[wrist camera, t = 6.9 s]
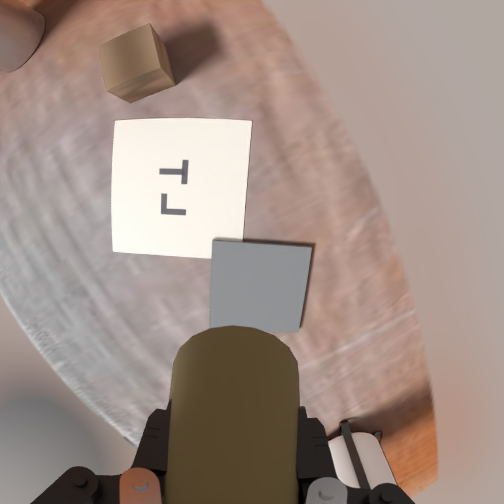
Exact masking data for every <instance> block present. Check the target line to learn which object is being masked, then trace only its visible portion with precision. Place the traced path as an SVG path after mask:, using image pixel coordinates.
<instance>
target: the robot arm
mask: <svg viewBox="0 0 504 504" xmlns="http://www.w3.org/2000/svg"><path fill="white" fill-rule="evenodd" d="M44 29H45V19H44V17H43V16H42V15H41V14H39V13H38V12H36V11H35V10H33V9H31V8H30V7H28V6H26V5H25V4H23V3H21V2H20V1H18V0H0V71H3V72H12V71H14V70H16V69H17V68H19V67H20V66H21V65H23V64H24V63H25V62H26V61H27V60H28V59H29V57H30V56H31V55H32V54H33V52H34V51H35V49H36V48H37V46H38V44H39V42H40V40H41V38H42V36H43V33H44ZM171 404H172V399H170V400H169V403H168V406H167V409H166V410H162V409H156V410H155V411H154V412H153V413H152V414H151V415H150V416H149V417H148V420H147V423H146V426H145V429H144V432H143V436H142V438H141V441H140V444H139V447H138V450H137V453H136V456H135V459H134V462H133V465H132V466H131V468H130V469H128V470H127V471H125V472H124V473H123V474H120V475H113V476H108V475H106V476H105V475H95V474H94V473H93V472H92V471H91V470H90V469H88V468H85V467H80V466H77V467H72V468H70V469H68V470H67V471H66V472H65V473H64V474H62V475H61V477H59V479H57V480H56V481H55V482H54V483H53V484H52V485H51V486H49V487H48V488H47V489H46V490H45V491H44V492H43V493H42V494H41V495H40V496H38V497H37V498H36V499H35V500H34V501H33V502H32V503H31V504H163V488H164V475H165V474H166V472H167V466H168V446H169V430H170V417H171ZM326 437H327V436H326V432H325V429H324V426H323V425H322V424H321V422H320V421H319V420H318V419H317V418H307V414H306V409H305V407H304V406H298V423H297V451H296V467H297V480H298V484H299V504H415V503H414V502H413V501H412V500H411V499H410V498H409V496H408V495H407V494H406V493H405V492H404V491H403V490H402V489H401V488H400V487H399V486H397V485H395V484H392V483H382V484H379V485H377V486H375V487H374V488H373V489H363V488H353V487H350V486H347V485H345V484H344V483H342V482H341V481H340V479H339V478H338V476H337V474H336V470H335V466H334V462H333V459H332V455H331V451H330V447H329V444H328V440H327V438H326Z"/></svg>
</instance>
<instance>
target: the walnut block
mask: <svg viewBox="0 0 504 504" xmlns="http://www.w3.org/2000/svg"><path fill="white" fill-rule="evenodd" d="M98 49H99V55H100V61H101V66H102V72H103V77H104V82H105V87H106V91H107V92H109V93H111V94H113V95H115V96H117V97H119V98H121V99H123V100H125V101H127V102H129V103H132V102H135V101H137V100H139V99H142V98H144V97H147V96H149V95H152V94H154V93H157V92H160V91H162V90H165V89H168V88H170V87H173V86H176V84H175V80H174V77H173V73H172V69H171V65H170V62H169V58H168V54H167V50H166V47H165V45H164V43H163V42H162V40H161V39H160V38H159V36H158V35H157V33H156V32H155V30H154V29H153V27H152V26H151V24H150V23H149V24H146V25H144V26H141V27H139V28H136V29H134V30H132V31H129V32H127V33H125V34H123V35H121V36H118V37H116V38H114V39H112V40H110V41H108V42H106V43H104V44H102V45H100V46H98Z"/></svg>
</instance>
